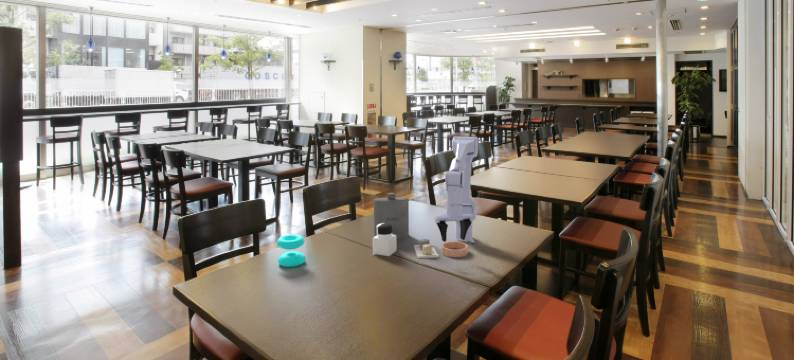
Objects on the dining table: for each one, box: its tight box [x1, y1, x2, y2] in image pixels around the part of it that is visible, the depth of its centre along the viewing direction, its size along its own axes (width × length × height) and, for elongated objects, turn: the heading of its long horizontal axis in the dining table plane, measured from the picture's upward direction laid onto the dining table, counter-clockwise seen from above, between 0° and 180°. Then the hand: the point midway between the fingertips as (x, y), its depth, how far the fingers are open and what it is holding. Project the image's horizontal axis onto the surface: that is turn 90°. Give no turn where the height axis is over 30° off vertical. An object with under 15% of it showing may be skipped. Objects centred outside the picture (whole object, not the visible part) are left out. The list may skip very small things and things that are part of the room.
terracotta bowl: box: [440, 240, 469, 258], centre depth 179 cm, size 10×10×4 cm
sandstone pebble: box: [422, 244, 432, 255], centre depth 177 cm, size 4×4×4 cm
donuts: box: [276, 233, 307, 268], centre depth 171 cm, size 10×10×10 cm
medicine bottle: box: [372, 223, 397, 257], centre depth 180 cm, size 7×7×12 cm
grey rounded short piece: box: [419, 238, 431, 250], centre depth 183 cm, size 4×4×4 cm
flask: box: [373, 192, 410, 240], centre depth 197 cm, size 15×6×20 cm, turn 99°
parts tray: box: [413, 244, 440, 259], centre depth 180 cm, size 12×8×2 cm, turn 5°
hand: (453, 240), depth 170 cm, fingers open, 7 cm apart
